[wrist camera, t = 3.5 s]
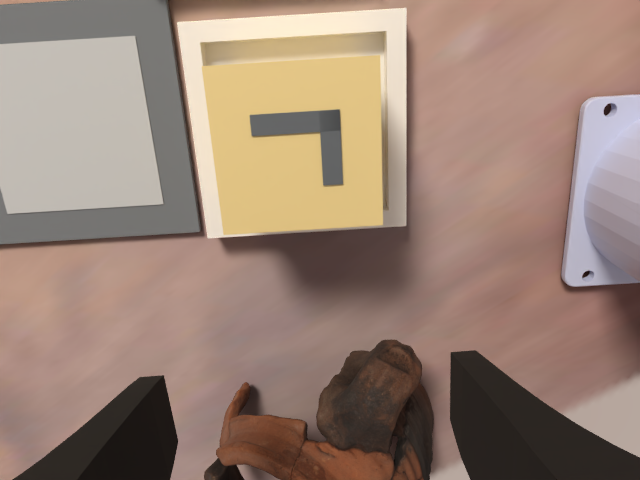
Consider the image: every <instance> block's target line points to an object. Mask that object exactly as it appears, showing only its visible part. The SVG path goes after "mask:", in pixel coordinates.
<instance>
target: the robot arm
mask: <svg viewBox="0 0 640 480" xmlns="http://www.w3.org/2000/svg"><path fill="white" fill-rule="evenodd" d="M607 104H610V105H611V111H610V113H609V114H608V115H606V116H605V115H604V111H603V110H604V108H605V106H606V105H607ZM586 271H590V272H589V275H588V276H587V277H585V278H582V275H583V273H584V272H586ZM561 276H562V279H563V281H564V282H565V283H566V284H568V285H569V286H572V287H580V286H596V285H612V284H629V283H640V94H634V95H617V96H601V97H592V98H589V99H587V100H586V101H585V102H584V103H583V104H582V106H581V109H580V115H579V123H578V132H577V141H576V150H575V159H574V167H573V176H572V185H571V194H570V203H569V211H568V220H567V229H566V238H565V247H564V256H563V264H562V273H561ZM450 421H451V424H452V428H453V432H454V435H455V439H456V442H457V445H458V449H459V452H460V455H461V458H462V461H463V463H464V465H465V468H466V470H467V472H468V475H469V477H470V479H471V480H640V458H639V457H637V456H635V455H633V454H631V453H629V452H627V451H625V450H623V449H621V448H619V447H617V446H615V445H613V444H611V443H609V442H608V441H606V440H604V439H602V438H600V437H599V436H597V435H595V434H593V433H592V432H590V431H588V430H586V429H584V428H583V427H581V426H579V425H578V424H576V423H575V422H573V421H571V420H570V419H568V418H567V417H565V416H564V415H562V414H560V413H559V412H557V411H556V410H554V409H553V408H551V407H550V406H548V405H547V404H545V403H544V402H543V401H541V400H540V399H538V398H537V397H535V396H534V395H533V394H531V393H530V392H529V391H527V390H526V389H524V388H523V387H522V386H520V385H519V384H518V383H516V382H515V381H514V380H513V379H511V378H510V377H509V376H507V375H506V374H505V373H504V372H502V371H501V370H500V369H498V368H497V367H496V366H495V365H493V364H492V363H491V362H490V361H488V360H487V359H486V358H485V357H483V356H482V355H481V354H479V353H478V352H477V351H475V350H474V351H462V352H451V383H450ZM177 445H178V438H177V434H176V429H175V425H174V420H173V415H172V411H171V406H170V402H169V397H168V393H167V388H166V383H165V379H164V375H163V376H150V377H140V378H138V379H137V380H136V381H134V382H133V383H132V384H131V385H129V386H128V387H127V388H126V389H125V390H124V391H122V392H121V393H120V394H119V395H118V396H117V397H116V398H114V399H113V400H112V401H111V402H110V403H109V404H108V405H107V406H105V407H104V408H103V409H102V410H101V411H100V412H98V413H97V414H96V415H95V416H94V417H93V418H92V419H90V420H89V421H88V422H87V423H86V424H85V425H83V426H82V427H81V428H80V429H79V430H77V431H76V432H75V433H74V434H72V435H71V436H70V437H69V438H67V439H66V440H65V441H64V442H62V443H61V444H60V445H59V446H57V447H56V448H55V449H54V450H52V451H51V452H50V453H49V454H47V455H46V456H45V457H44V458H42V459H41V460H40V461H38V462H37V463H36V464H34V465H33V466H31V467H30V468H29V469H27V470H26V471H25V472H23V473H22V474H20V475H19V476H17V477H16V478H14V479H13V480H170V477H171V473H172V469H173V464H174V460H175V455H176V450H177Z"/></svg>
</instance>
